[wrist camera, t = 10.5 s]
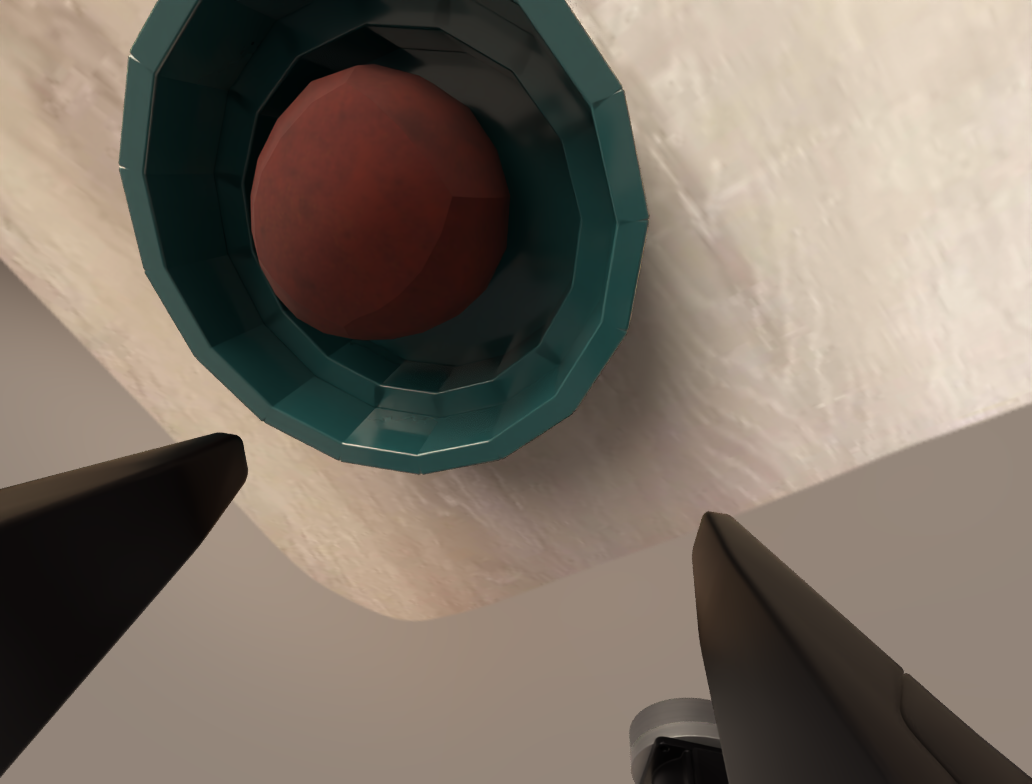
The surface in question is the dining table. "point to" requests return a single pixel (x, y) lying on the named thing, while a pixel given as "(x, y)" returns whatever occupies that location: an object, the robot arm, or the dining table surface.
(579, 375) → the bowl
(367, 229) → the potato
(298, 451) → the dining table surface
